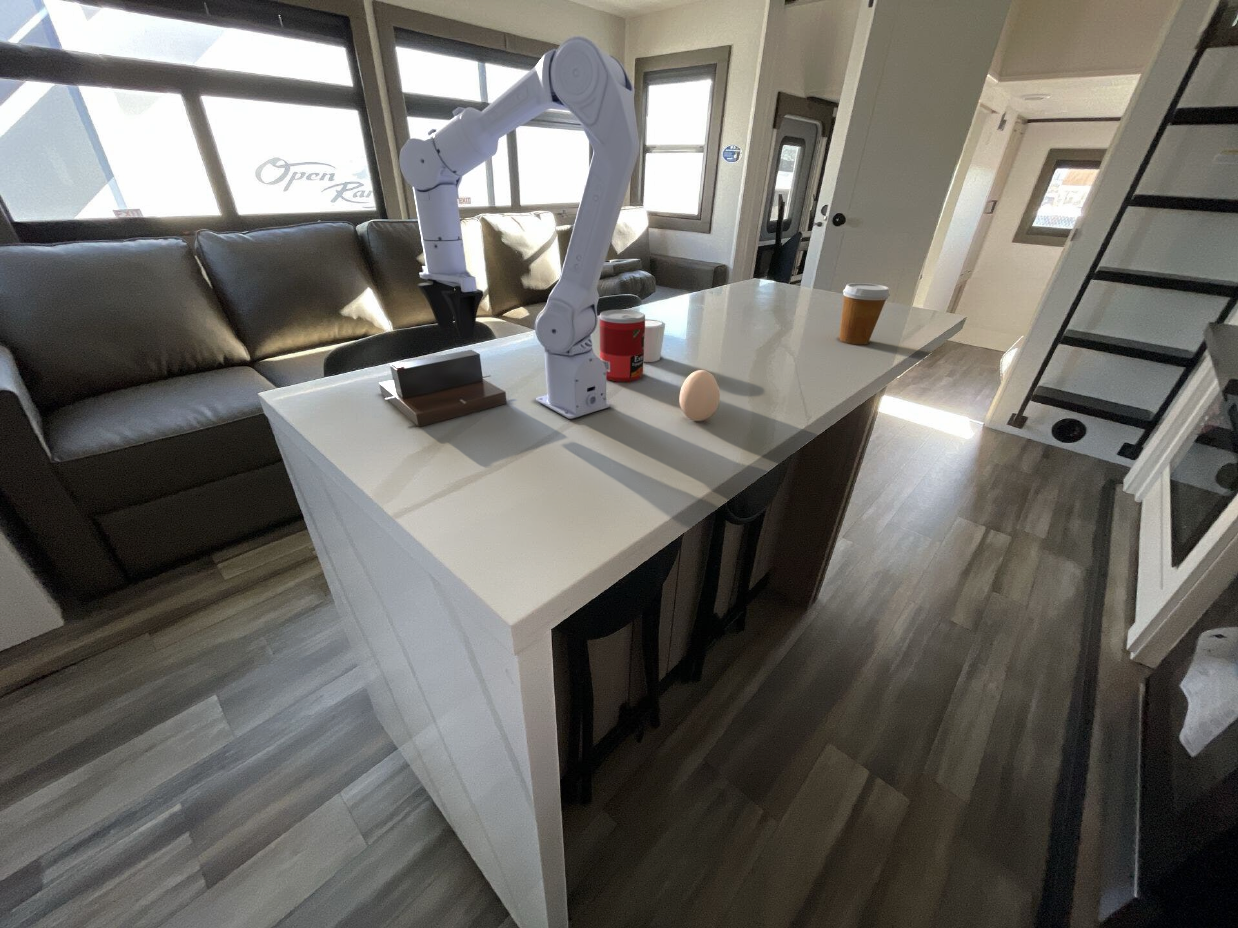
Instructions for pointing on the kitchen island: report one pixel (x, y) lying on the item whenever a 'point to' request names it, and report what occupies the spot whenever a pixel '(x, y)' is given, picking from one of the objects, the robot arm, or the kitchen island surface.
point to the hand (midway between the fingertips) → (456, 332)
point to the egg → (699, 395)
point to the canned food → (622, 344)
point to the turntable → (445, 401)
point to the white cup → (653, 340)
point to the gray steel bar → (436, 373)
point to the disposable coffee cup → (861, 311)
